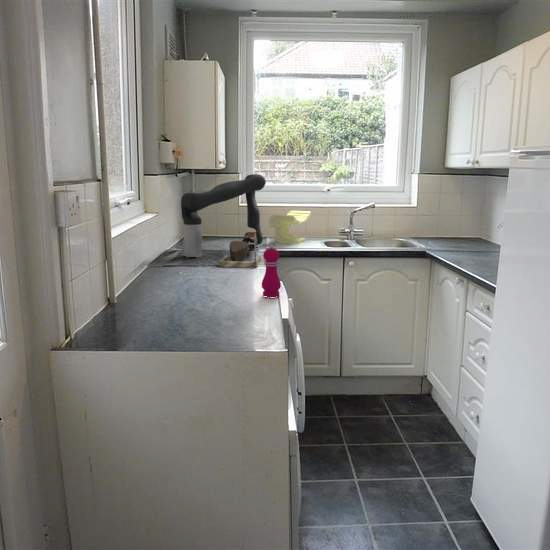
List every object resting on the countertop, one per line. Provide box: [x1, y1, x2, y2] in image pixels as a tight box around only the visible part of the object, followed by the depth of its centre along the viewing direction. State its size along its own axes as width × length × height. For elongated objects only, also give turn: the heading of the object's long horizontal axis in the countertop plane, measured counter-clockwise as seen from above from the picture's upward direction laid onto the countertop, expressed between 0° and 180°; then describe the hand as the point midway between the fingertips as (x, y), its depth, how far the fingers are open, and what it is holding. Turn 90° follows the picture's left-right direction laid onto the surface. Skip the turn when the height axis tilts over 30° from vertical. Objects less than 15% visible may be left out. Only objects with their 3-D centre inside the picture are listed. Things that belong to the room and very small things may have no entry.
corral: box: [219, 233, 262, 269], centre depth 252 cm, size 18×16×16 cm
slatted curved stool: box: [268, 210, 312, 245], centre depth 320 cm, size 30×16×18 cm, turn 157°
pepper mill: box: [261, 243, 282, 297], centre depth 193 cm, size 7×7×20 cm
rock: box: [228, 240, 249, 262], centre depth 257 cm, size 12×10×10 cm
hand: (244, 248), depth 261 cm, fingers closed
